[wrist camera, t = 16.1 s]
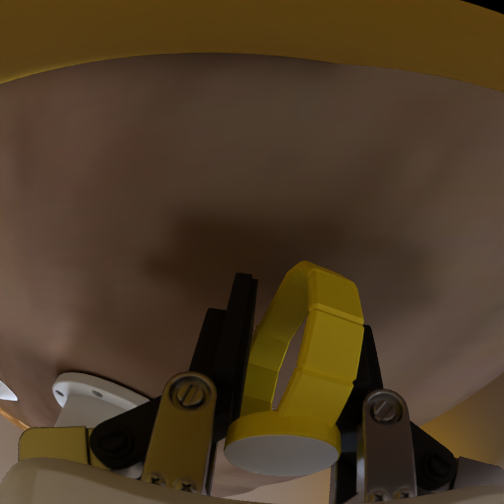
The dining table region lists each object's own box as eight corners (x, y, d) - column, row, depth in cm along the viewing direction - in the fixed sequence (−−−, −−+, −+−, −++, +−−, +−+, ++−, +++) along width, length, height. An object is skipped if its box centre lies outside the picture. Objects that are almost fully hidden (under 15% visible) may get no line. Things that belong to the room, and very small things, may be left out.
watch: (289, 360, 13) (278, 493, 8) (227, 340, 13) (195, 475, 8) (367, 252, 10) (409, 421, 5) (289, 219, 10) (277, 394, 5)
